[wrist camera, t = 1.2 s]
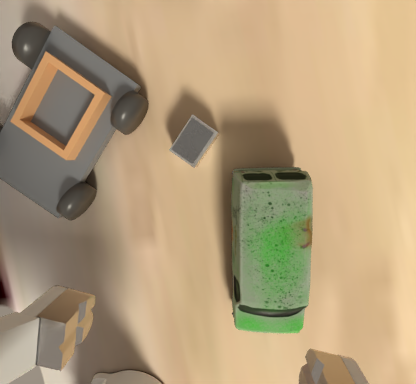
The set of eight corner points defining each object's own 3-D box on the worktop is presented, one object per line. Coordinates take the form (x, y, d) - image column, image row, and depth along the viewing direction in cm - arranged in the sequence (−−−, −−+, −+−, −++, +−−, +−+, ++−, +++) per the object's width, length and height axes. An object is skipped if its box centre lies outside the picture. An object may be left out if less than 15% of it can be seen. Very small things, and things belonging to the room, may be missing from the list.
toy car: (231, 309, 42) (233, 357, 32) (230, 167, 38) (231, 172, 29) (294, 311, 41) (315, 360, 31) (298, 166, 38) (324, 170, 28)
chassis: (81, 219, 41) (57, 230, 36) (-7, 158, 41) (-46, 159, 35) (156, 98, 37) (143, 87, 32) (59, 29, 37) (27, 5, 31)
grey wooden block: (197, 166, 39) (193, 168, 34) (174, 150, 39) (167, 149, 34) (219, 134, 38) (217, 131, 33) (196, 118, 38) (191, 112, 33)
